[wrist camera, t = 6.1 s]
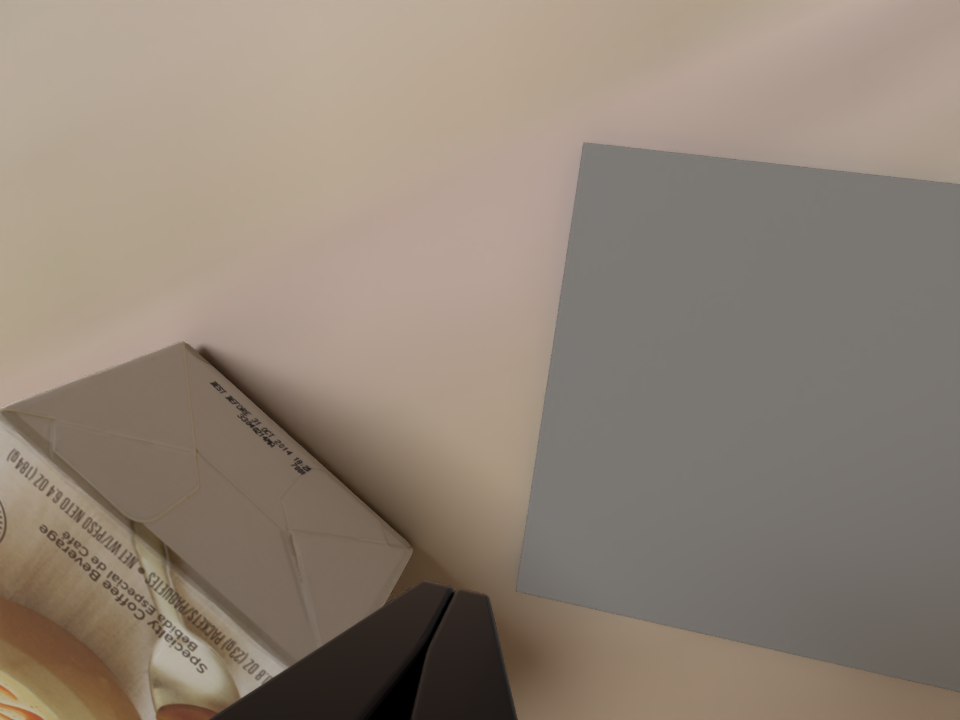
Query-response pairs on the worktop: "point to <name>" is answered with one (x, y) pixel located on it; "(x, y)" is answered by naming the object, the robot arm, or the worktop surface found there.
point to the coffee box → (169, 546)
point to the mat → (757, 410)
